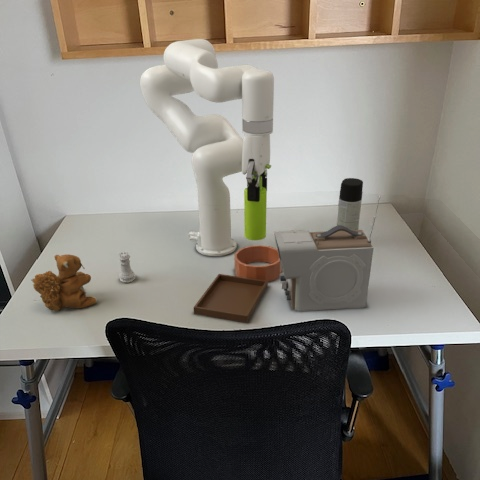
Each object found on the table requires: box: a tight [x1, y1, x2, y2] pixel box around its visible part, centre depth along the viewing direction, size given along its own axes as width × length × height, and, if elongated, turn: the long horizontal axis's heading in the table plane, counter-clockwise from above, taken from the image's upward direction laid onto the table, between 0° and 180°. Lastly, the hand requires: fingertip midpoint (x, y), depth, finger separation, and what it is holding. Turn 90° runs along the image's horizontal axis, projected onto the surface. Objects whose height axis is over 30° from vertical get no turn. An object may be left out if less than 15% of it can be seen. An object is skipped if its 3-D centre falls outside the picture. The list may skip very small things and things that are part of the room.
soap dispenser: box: [243, 163, 272, 241], centre depth 142 cm, size 6×7×20 cm
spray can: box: [336, 177, 364, 230], centre depth 162 cm, size 7×7×20 cm
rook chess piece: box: [117, 251, 136, 284], centre depth 149 cm, size 4×4×8 cm
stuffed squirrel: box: [31, 254, 98, 312], centre depth 137 cm, size 10×14×13 cm
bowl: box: [233, 244, 283, 283], centre depth 152 cm, size 13×13×5 cm
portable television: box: [273, 195, 381, 312], centre depth 131 cm, size 12×24×30 cm, turn 94°
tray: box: [193, 273, 269, 324], centre depth 140 cm, size 14×18×2 cm
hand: (257, 195), depth 141 cm, fingers closed on soap dispenser, 5 cm apart
